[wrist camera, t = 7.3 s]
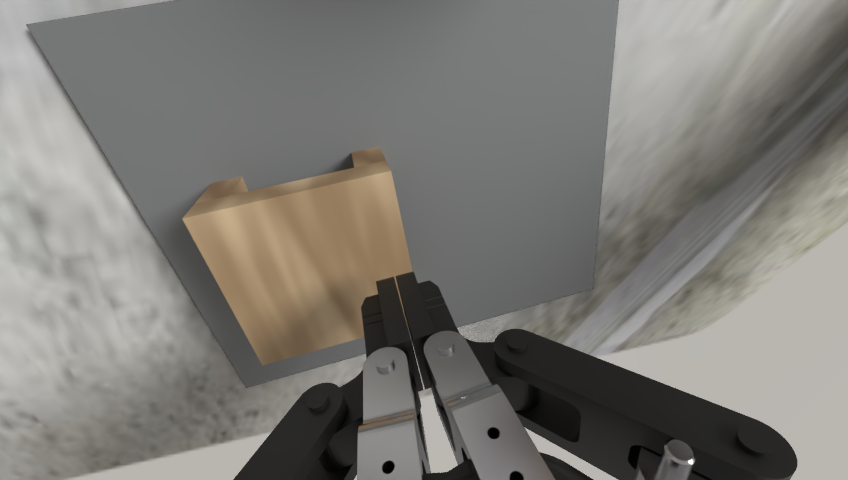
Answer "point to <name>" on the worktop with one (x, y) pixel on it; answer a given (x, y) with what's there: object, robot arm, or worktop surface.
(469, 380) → the robot arm
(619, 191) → the worktop surface
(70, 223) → the worktop surface
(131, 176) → the mat
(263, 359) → the wooden bench
